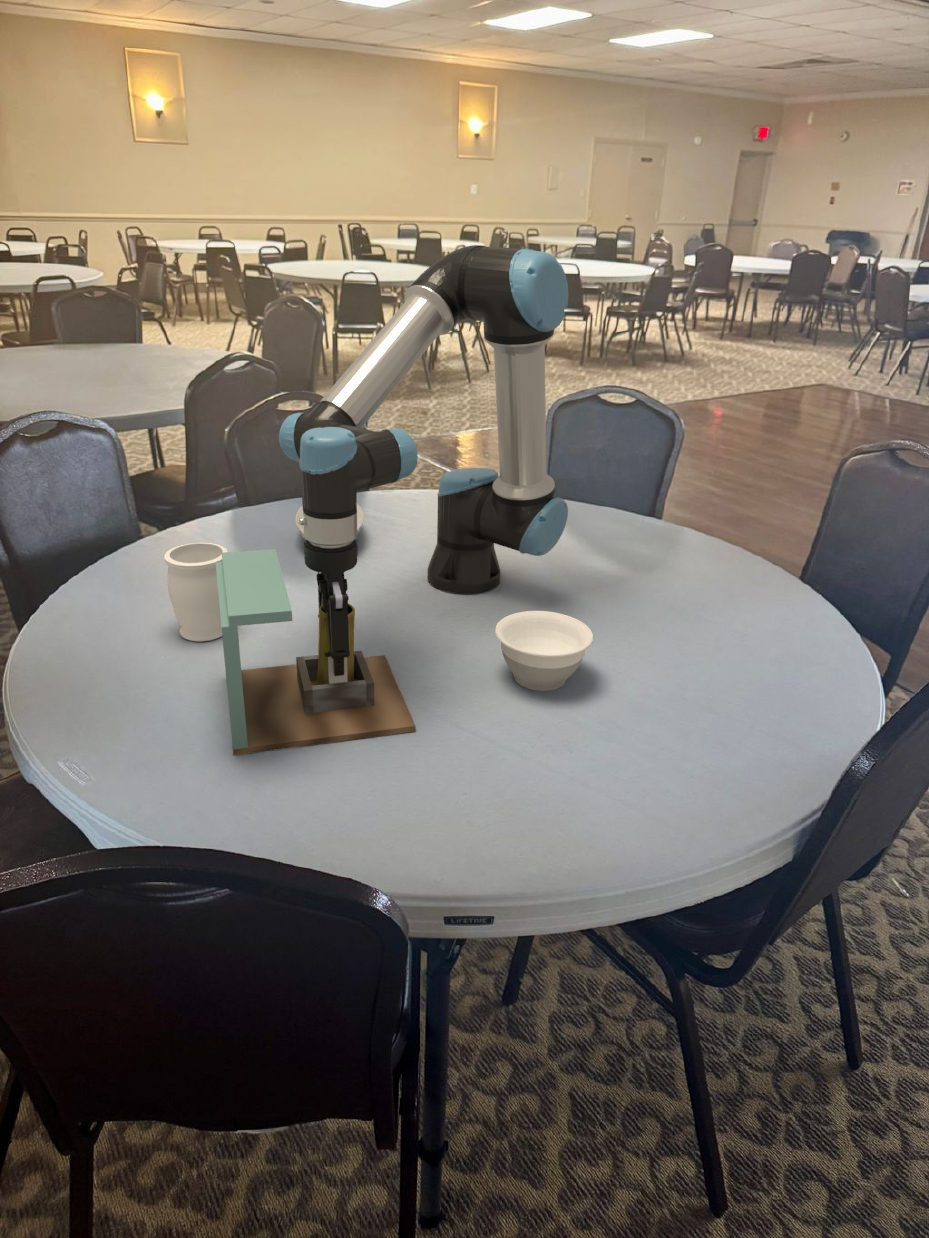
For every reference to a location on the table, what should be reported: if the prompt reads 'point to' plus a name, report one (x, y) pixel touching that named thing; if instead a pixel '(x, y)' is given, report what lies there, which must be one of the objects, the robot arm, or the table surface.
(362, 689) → the socket board
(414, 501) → the table surface
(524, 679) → the bowl
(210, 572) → the jar
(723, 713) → the table surface
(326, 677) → the vase
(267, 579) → the green l-shaped post
